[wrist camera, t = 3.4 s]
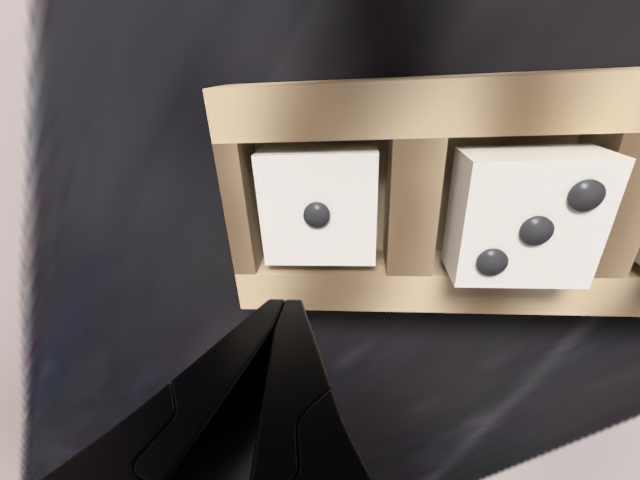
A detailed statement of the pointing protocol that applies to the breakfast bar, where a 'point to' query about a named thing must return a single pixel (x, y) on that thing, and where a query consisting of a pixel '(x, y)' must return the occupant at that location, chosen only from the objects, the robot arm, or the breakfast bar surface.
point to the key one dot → (317, 202)
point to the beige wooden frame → (425, 180)
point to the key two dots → (638, 257)
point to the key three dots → (531, 214)
